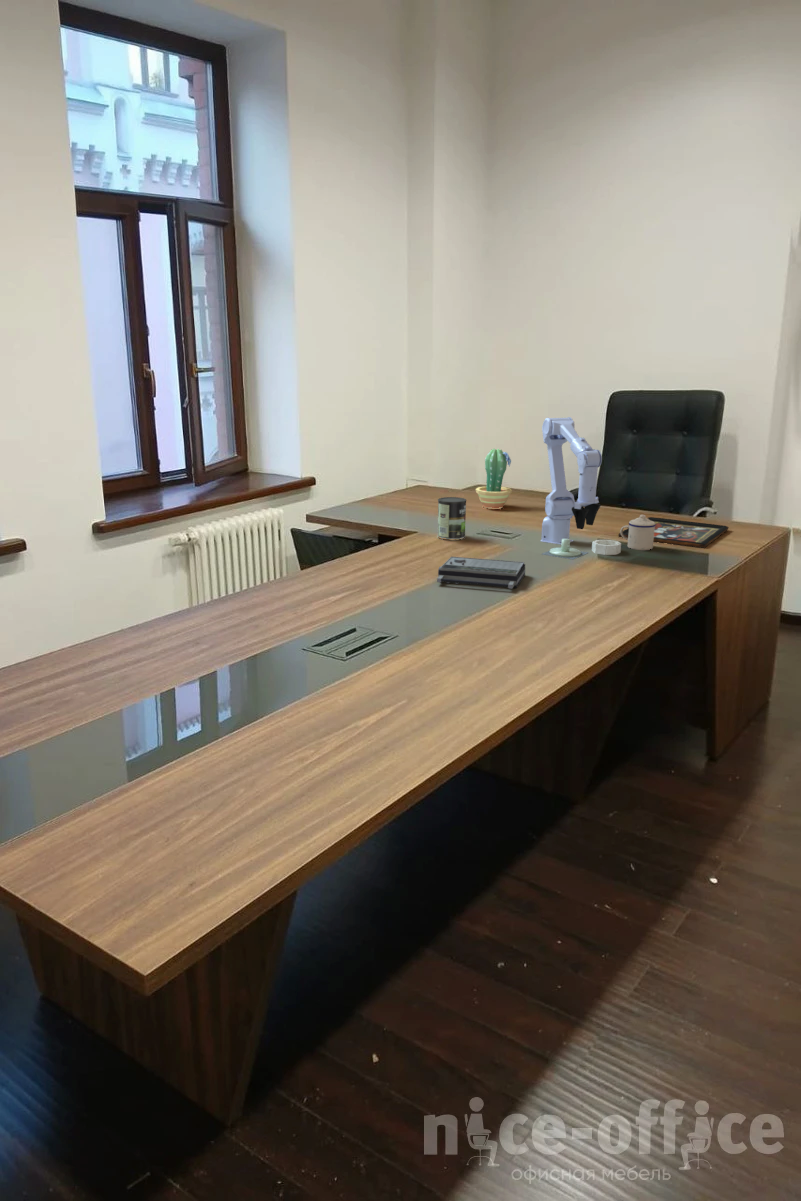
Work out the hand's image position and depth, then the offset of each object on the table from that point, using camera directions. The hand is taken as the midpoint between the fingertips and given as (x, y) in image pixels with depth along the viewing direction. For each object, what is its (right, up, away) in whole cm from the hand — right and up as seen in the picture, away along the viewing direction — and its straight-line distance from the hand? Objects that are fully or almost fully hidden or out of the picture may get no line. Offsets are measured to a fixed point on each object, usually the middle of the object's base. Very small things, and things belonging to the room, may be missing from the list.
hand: (584, 526), depth 302 cm
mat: (-6, -9, +2) cm, 11 cm away
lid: (-6, -9, +2) cm, 11 cm away
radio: (-38, -19, -28) cm, 51 cm away
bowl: (+8, -8, +5) cm, 13 cm away
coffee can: (-44, -2, +27) cm, 51 cm away
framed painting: (+40, -1, +34) cm, 53 cm away
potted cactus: (-23, +15, +81) cm, 85 cm away
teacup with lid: (+21, -6, +13) cm, 25 cm away
